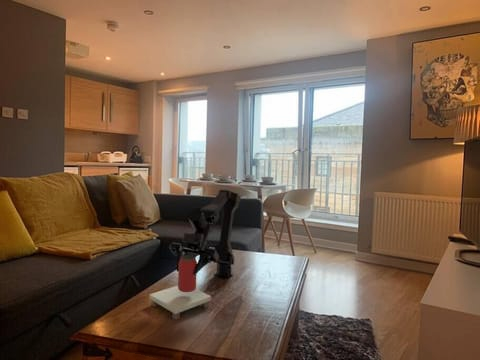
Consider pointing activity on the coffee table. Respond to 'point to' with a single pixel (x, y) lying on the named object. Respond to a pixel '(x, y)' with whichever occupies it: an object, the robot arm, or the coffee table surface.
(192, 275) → the beer can
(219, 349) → the coffee table surface
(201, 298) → the white square platform
